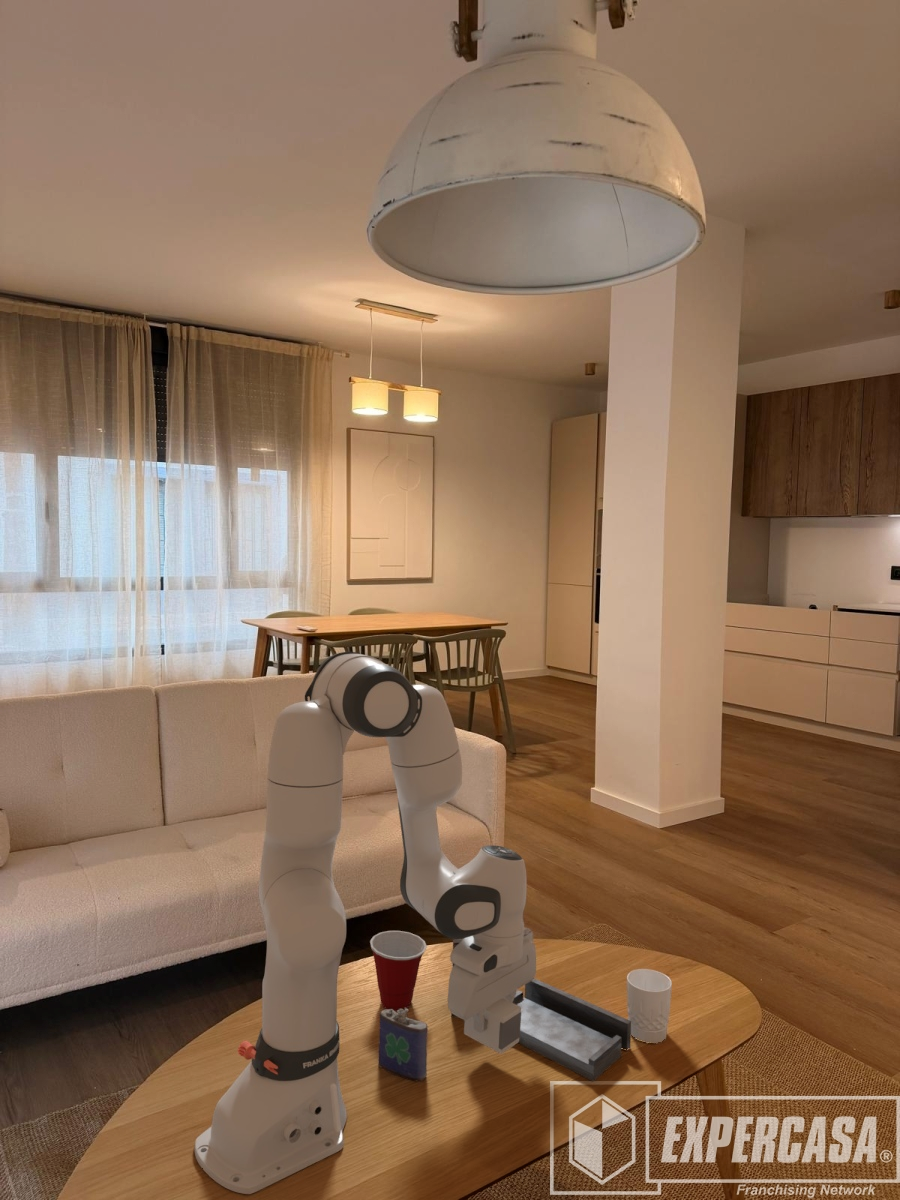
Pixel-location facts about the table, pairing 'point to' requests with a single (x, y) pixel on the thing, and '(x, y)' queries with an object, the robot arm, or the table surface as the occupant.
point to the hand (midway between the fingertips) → (492, 1022)
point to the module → (498, 1026)
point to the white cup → (648, 1004)
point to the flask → (403, 1045)
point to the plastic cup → (397, 966)
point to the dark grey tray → (570, 1029)
